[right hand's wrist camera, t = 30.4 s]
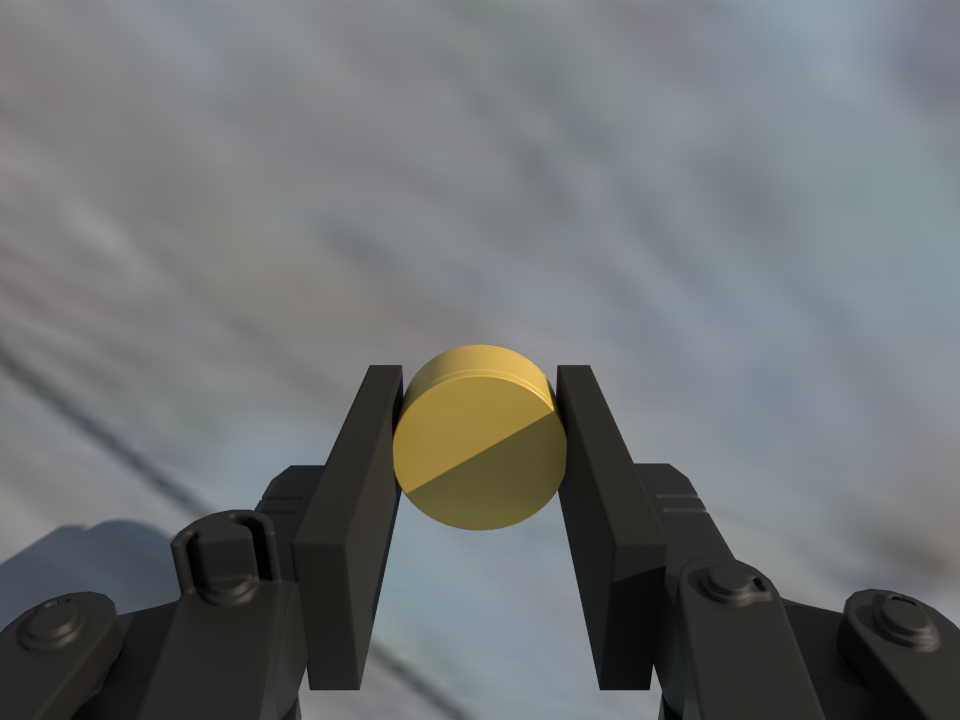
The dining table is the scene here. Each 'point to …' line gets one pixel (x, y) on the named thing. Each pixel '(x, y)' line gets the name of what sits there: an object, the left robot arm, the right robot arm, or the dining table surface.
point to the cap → (479, 439)
